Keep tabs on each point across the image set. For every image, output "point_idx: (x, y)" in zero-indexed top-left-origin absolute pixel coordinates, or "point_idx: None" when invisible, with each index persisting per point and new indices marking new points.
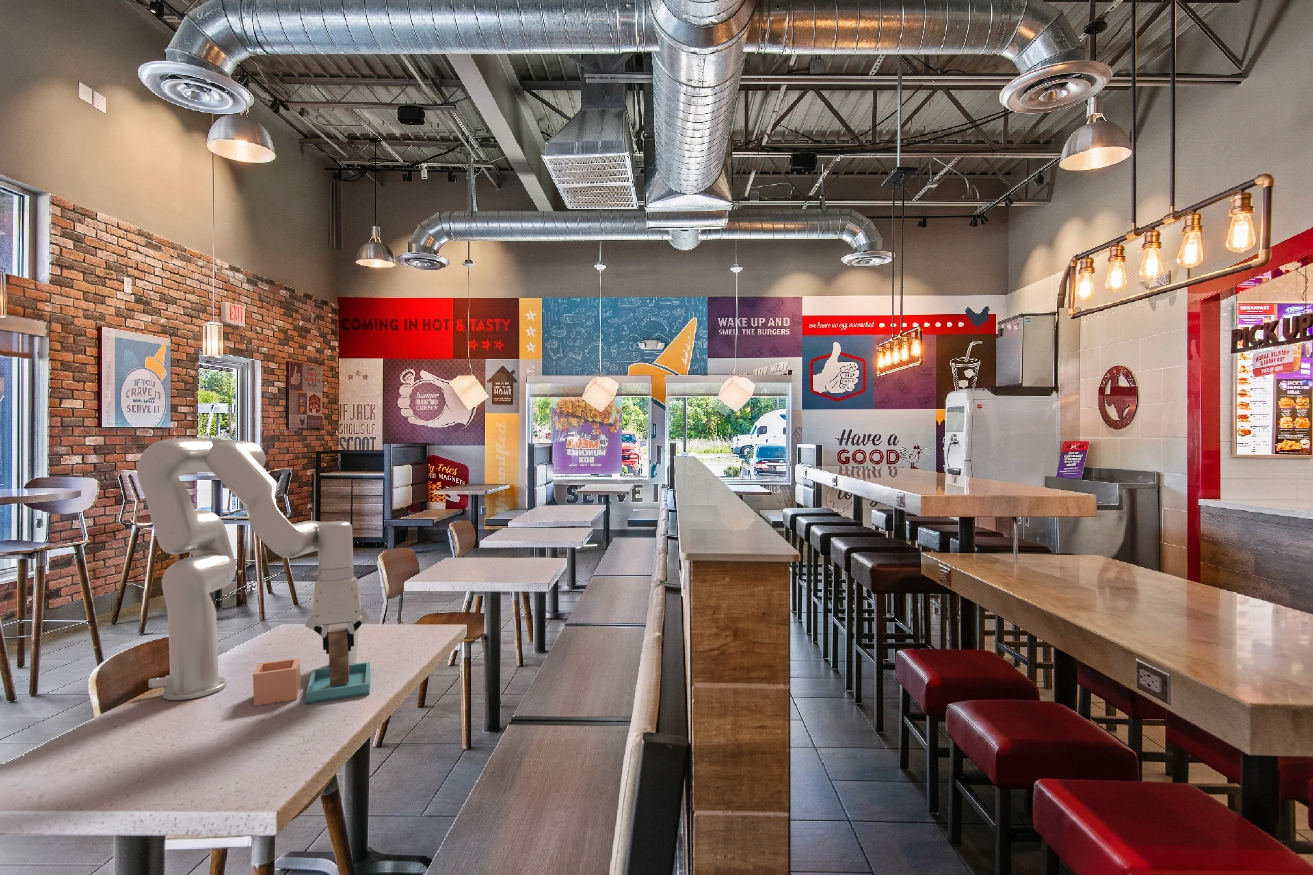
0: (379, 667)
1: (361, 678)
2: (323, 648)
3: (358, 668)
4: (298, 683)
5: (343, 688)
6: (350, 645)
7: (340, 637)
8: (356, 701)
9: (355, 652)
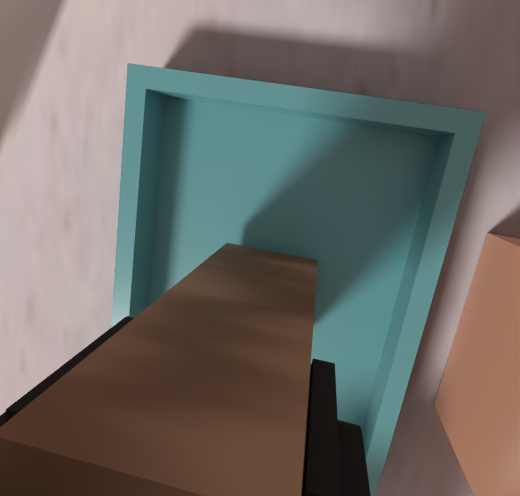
0: None
1: None
2: (356, 428)
3: None
4: (479, 345)
5: (265, 82)
6: (101, 335)
7: (140, 404)
8: (222, 3)
9: None
